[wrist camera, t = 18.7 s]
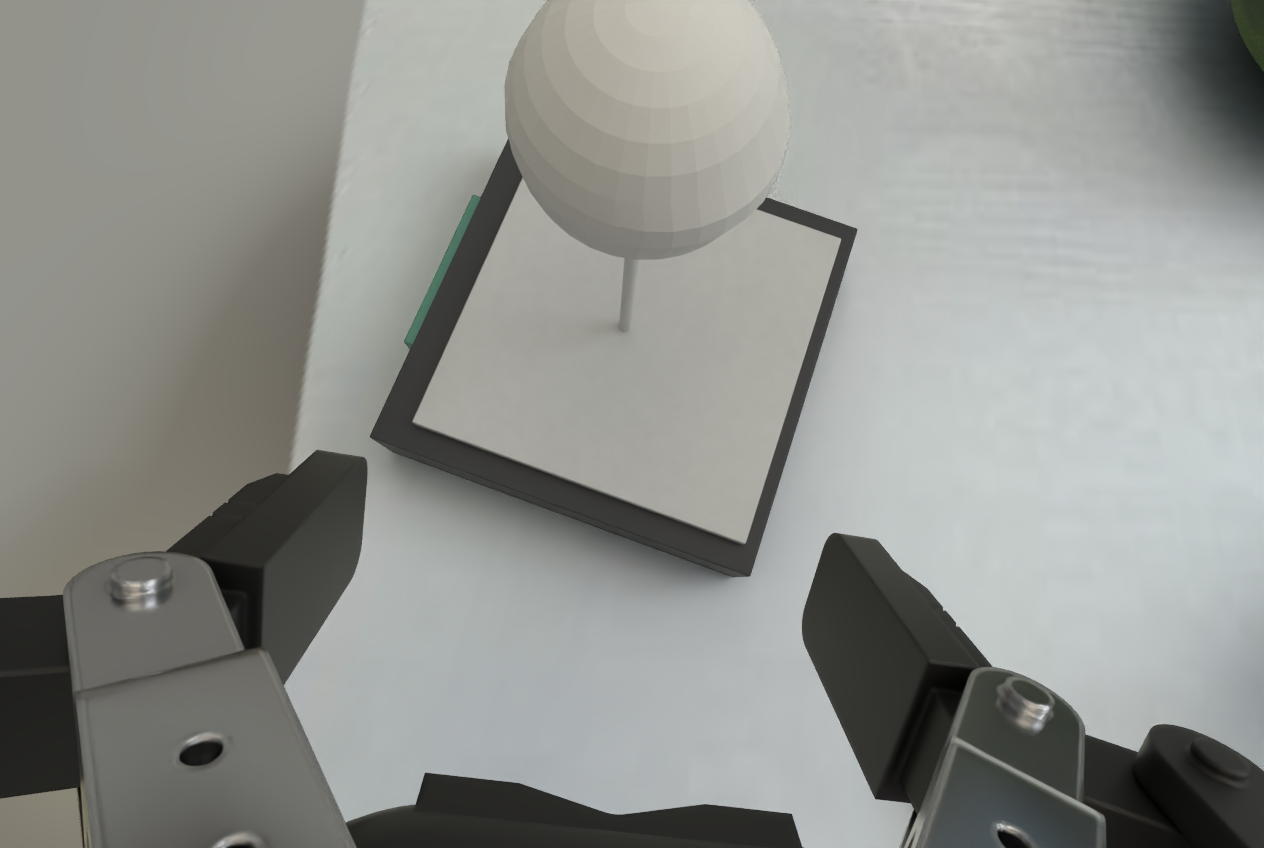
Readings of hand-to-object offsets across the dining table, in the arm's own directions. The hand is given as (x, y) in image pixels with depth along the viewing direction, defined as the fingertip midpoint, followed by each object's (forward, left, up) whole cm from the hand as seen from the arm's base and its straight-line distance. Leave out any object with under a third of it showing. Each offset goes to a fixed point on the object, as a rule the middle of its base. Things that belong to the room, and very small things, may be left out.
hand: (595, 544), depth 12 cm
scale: (-2, +9, -16) cm, 19 cm away
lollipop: (-2, +9, -13) cm, 16 cm away
